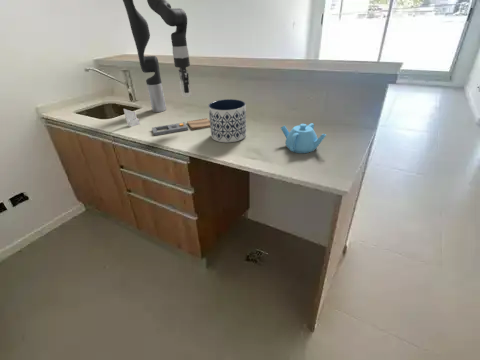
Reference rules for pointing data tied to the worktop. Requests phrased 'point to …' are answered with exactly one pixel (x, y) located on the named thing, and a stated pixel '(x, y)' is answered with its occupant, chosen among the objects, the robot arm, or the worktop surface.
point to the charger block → (183, 89)
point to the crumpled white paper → (131, 118)
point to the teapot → (302, 138)
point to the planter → (227, 120)
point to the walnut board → (199, 124)
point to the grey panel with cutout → (170, 128)
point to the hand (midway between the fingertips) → (185, 91)
